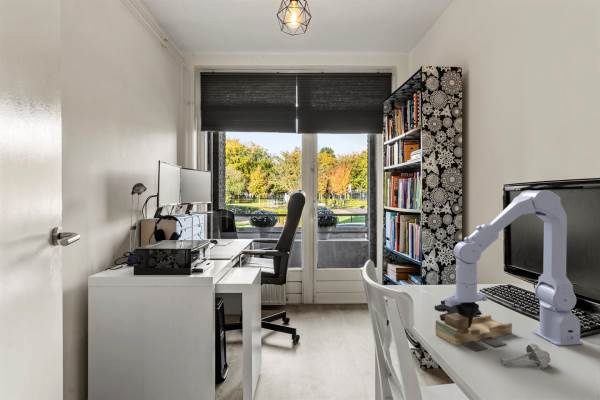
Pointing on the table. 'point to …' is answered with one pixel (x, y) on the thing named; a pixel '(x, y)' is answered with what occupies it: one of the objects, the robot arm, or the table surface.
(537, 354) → the mushroom
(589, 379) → the table surface
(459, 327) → the walnut block
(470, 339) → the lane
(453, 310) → the black pixelated cutout
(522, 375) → the table surface
